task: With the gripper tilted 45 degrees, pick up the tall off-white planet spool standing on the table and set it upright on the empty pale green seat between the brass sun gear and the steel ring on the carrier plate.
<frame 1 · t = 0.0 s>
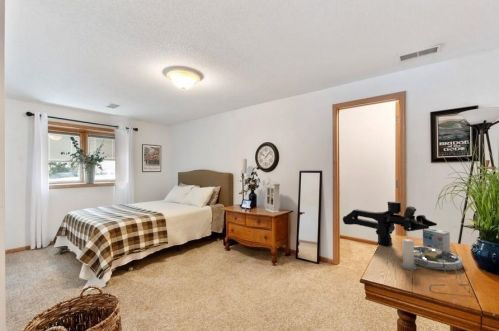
hand: (432, 225, 123), 17 cm above the table, tool horizontal, fingers open, 9 cm apart
light bulb box: (436, 249, 134), on the table
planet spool: (408, 267, 112), on the table
carrier plate: (430, 260, 119), on the table
eyeglasses: (439, 282, 99), on the table
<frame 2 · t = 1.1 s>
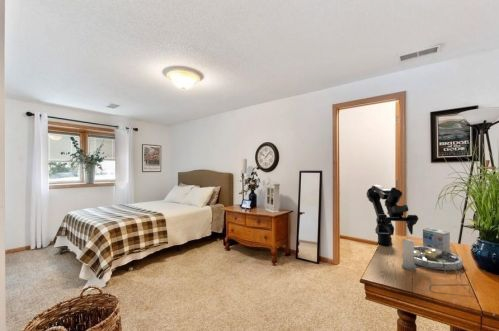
hand: (401, 233, 120), 14 cm above the table, tool tilted 45°, fingers open, 9 cm apart
nothing on the table moved.
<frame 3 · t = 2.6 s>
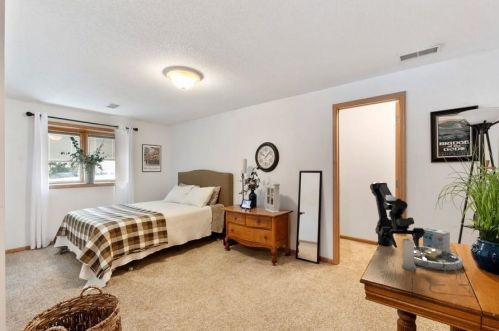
hand: (407, 248, 113), 9 cm above the table, tool tilted 45°, fingers open, 9 cm apart
nothing on the table moved.
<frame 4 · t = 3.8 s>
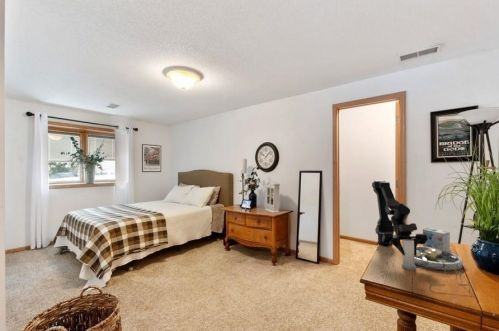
hand: (409, 255, 110), 7 cm above the table, tool tilted 45°, fingers closed on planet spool, 4 cm apart
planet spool: (408, 267, 112), on the table, touching gripper
everything else where it was.
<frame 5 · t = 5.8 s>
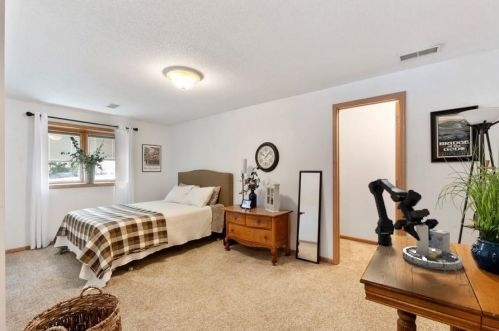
hand: (424, 240, 110), 13 cm above the table, tool tilted 45°, fingers closed on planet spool, 4 cm apart
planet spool: (422, 253, 111), point 7 cm above the table, touching gripper
everything else where it was.
when the fingers open (9 cm above the table, at t = 7.7 s): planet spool drops 1 cm, resting on carrier plate.
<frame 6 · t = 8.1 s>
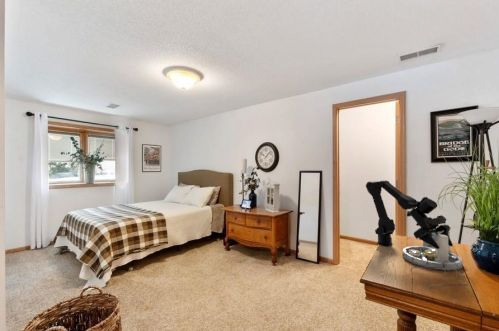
hand: (445, 247, 112), 9 cm above the table, tool tilted 45°, fingers open, 9 cm apart
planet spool: (442, 262, 113), point 1 cm above the table, touching carrier plate
everything else where it was.
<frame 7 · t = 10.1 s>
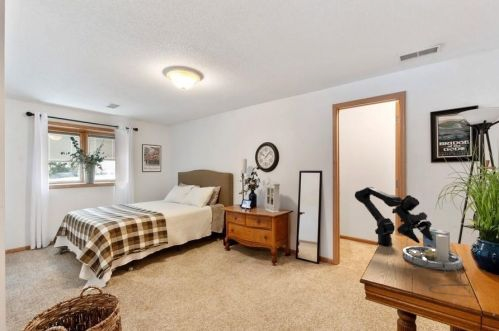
hand: (425, 241, 120), 9 cm above the table, tool tilted 45°, fingers open, 9 cm apart
nothing on the table moved.
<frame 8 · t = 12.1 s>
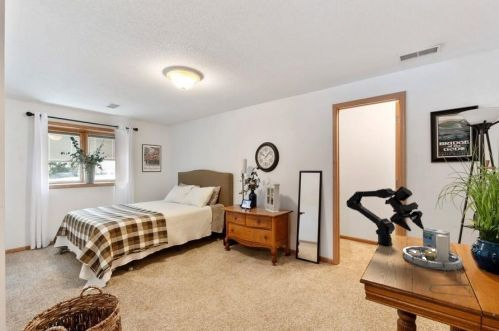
hand: (417, 230, 126), 14 cm above the table, tool tilted 45°, fingers open, 9 cm apart
nothing on the table moved.
at the end: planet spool 0.0 cm from the target spot on the carrier plate, point 1.4 cm above the carrier plate's base; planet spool tilted 0°; the gripper is holding nothing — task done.
